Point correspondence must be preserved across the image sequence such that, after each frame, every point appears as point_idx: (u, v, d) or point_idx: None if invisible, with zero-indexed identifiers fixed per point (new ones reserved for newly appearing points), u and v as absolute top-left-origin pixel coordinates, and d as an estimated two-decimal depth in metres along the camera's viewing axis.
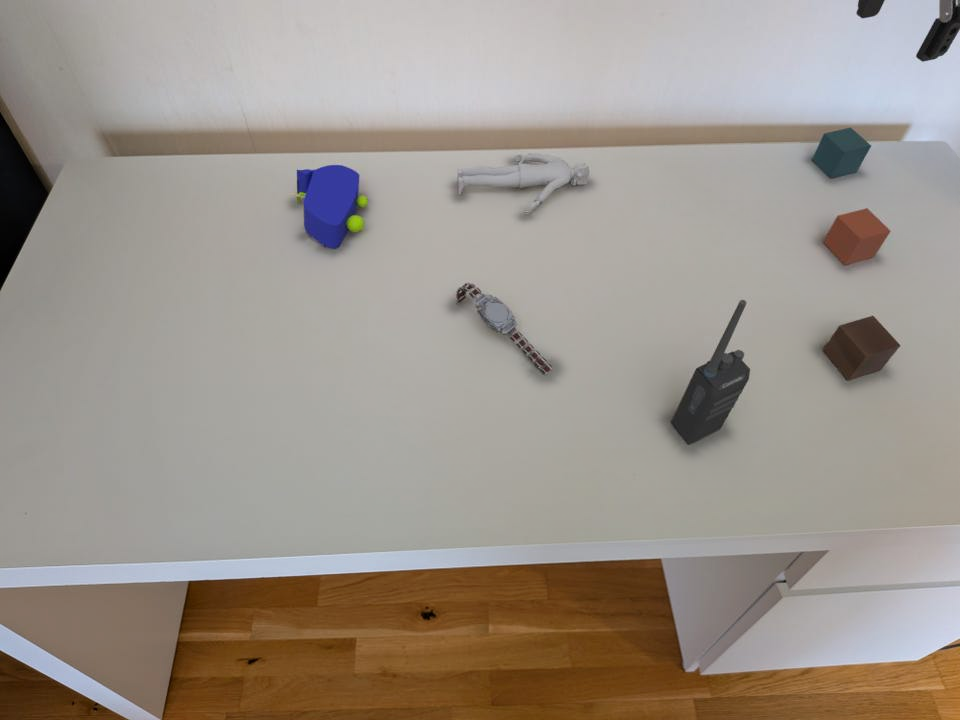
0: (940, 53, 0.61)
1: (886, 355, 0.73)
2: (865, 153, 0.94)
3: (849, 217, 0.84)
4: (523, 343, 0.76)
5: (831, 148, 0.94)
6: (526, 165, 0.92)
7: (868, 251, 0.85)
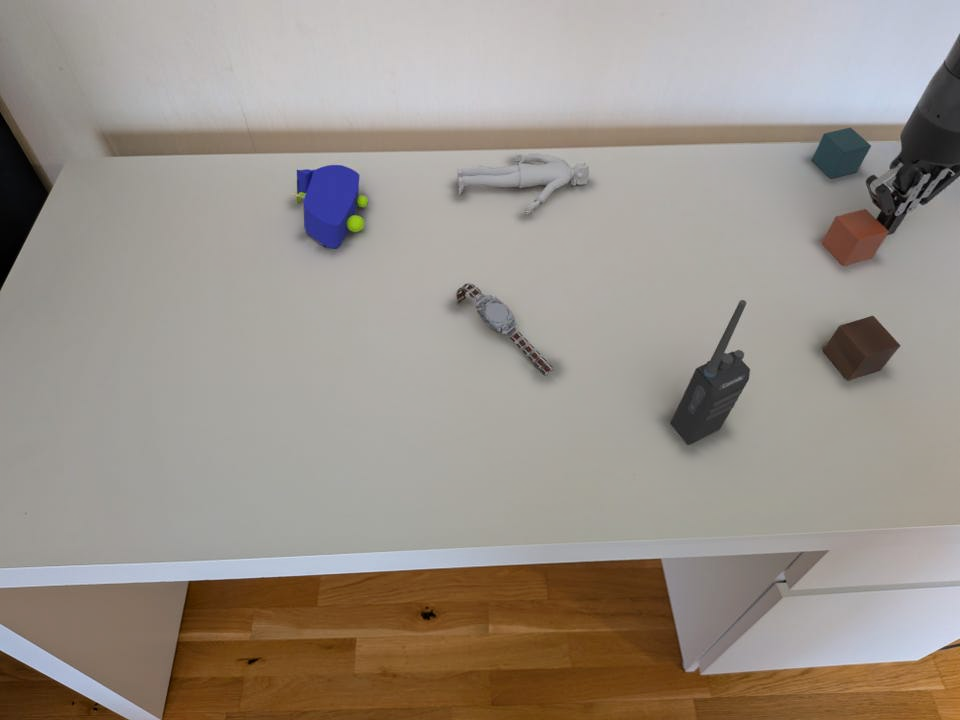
0: None
1: (886, 355, 0.73)
2: (865, 153, 0.94)
3: (848, 218, 0.84)
4: (524, 343, 0.76)
5: (831, 148, 0.94)
6: (526, 165, 0.92)
7: (866, 252, 0.85)
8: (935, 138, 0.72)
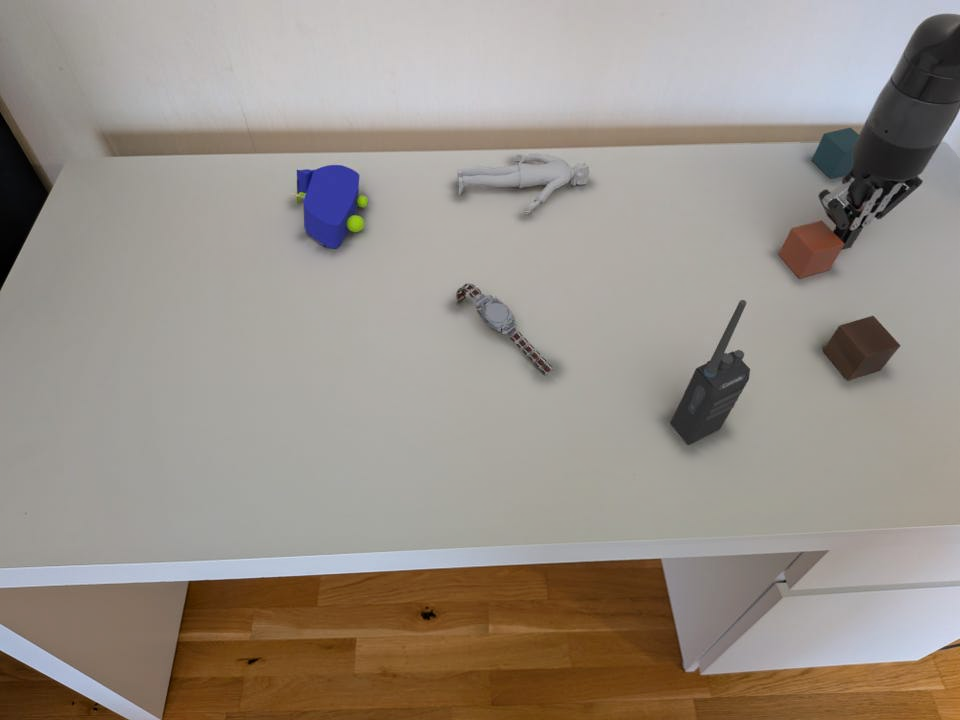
0: None
1: (886, 355, 0.73)
2: None
3: (803, 229, 0.83)
4: (524, 343, 0.76)
5: (831, 148, 0.94)
6: (526, 165, 0.92)
7: (822, 264, 0.83)
8: (884, 153, 0.71)
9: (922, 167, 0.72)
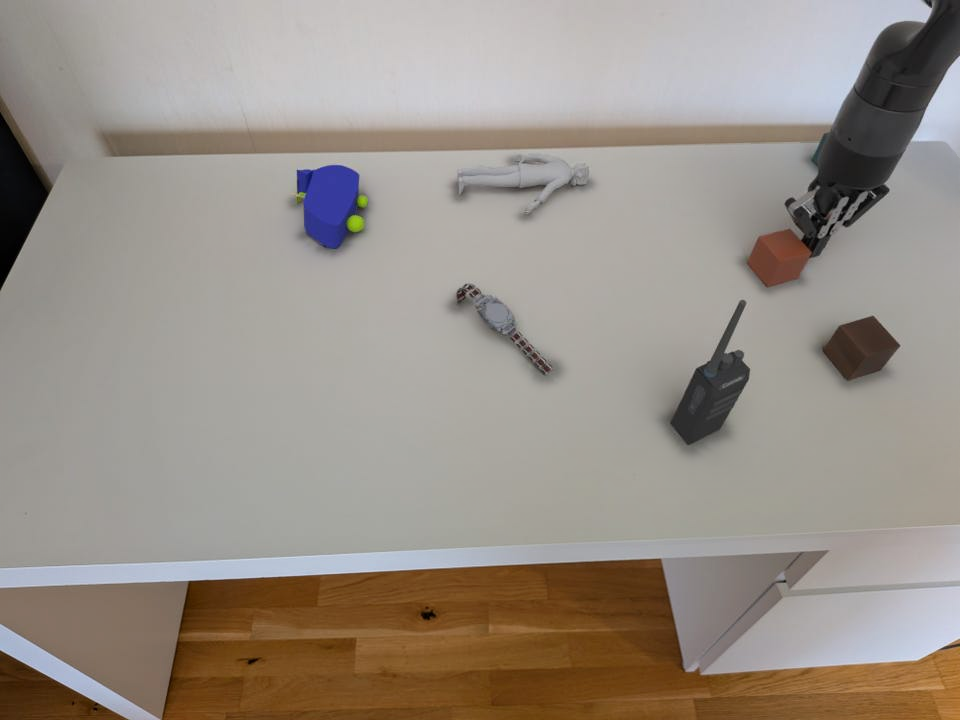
0: None
1: (886, 355, 0.73)
2: None
3: (770, 238, 0.82)
4: (524, 343, 0.76)
5: None
6: (526, 165, 0.92)
7: (790, 273, 0.82)
8: (848, 162, 0.70)
9: (887, 176, 0.71)
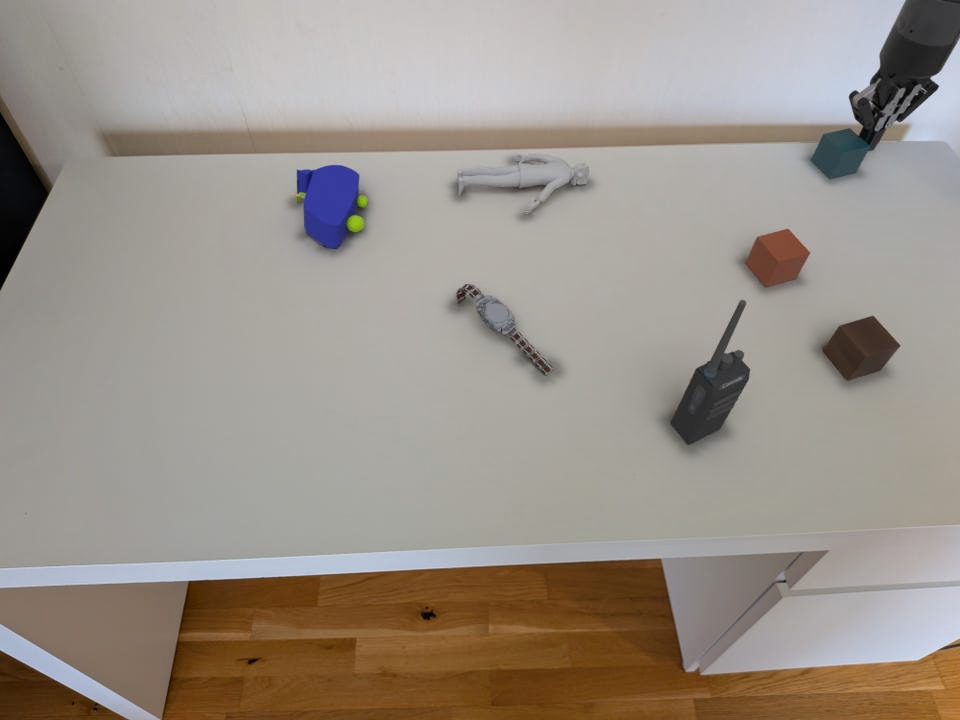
0: None
1: (886, 355, 0.73)
2: (864, 154, 0.94)
3: (769, 238, 0.82)
4: (524, 343, 0.76)
5: (830, 148, 0.94)
6: (526, 165, 0.92)
7: (788, 273, 0.82)
8: (908, 52, 0.82)
9: (940, 65, 0.83)
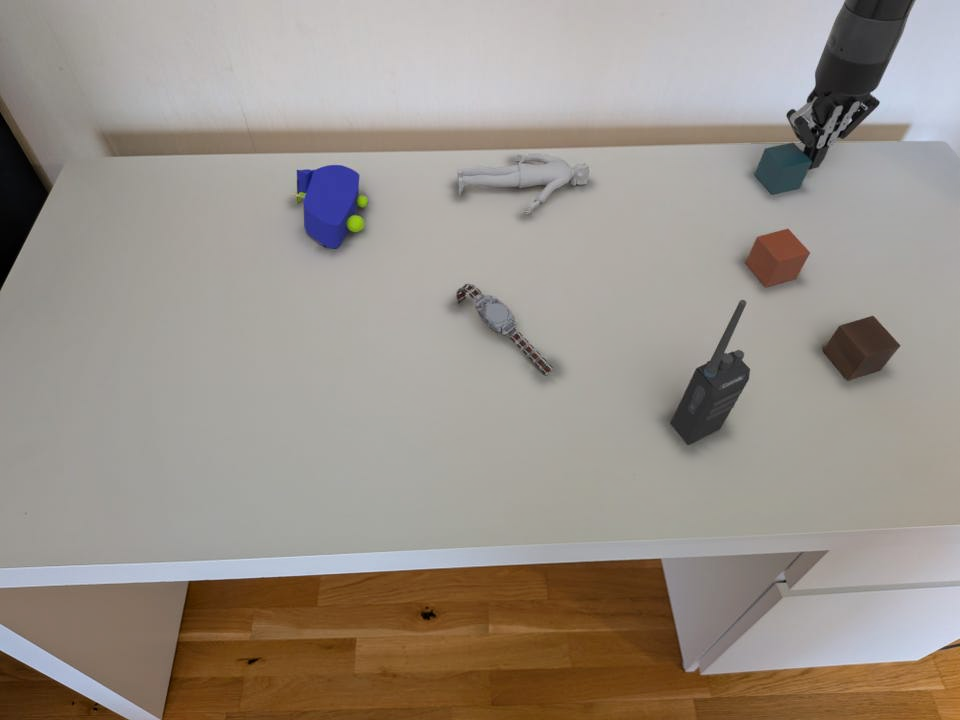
0: None
1: (886, 355, 0.73)
2: (806, 169, 0.92)
3: (769, 238, 0.82)
4: (524, 343, 0.76)
5: (772, 163, 0.92)
6: (526, 165, 0.92)
7: (788, 273, 0.82)
8: (841, 70, 0.81)
9: (875, 83, 0.81)
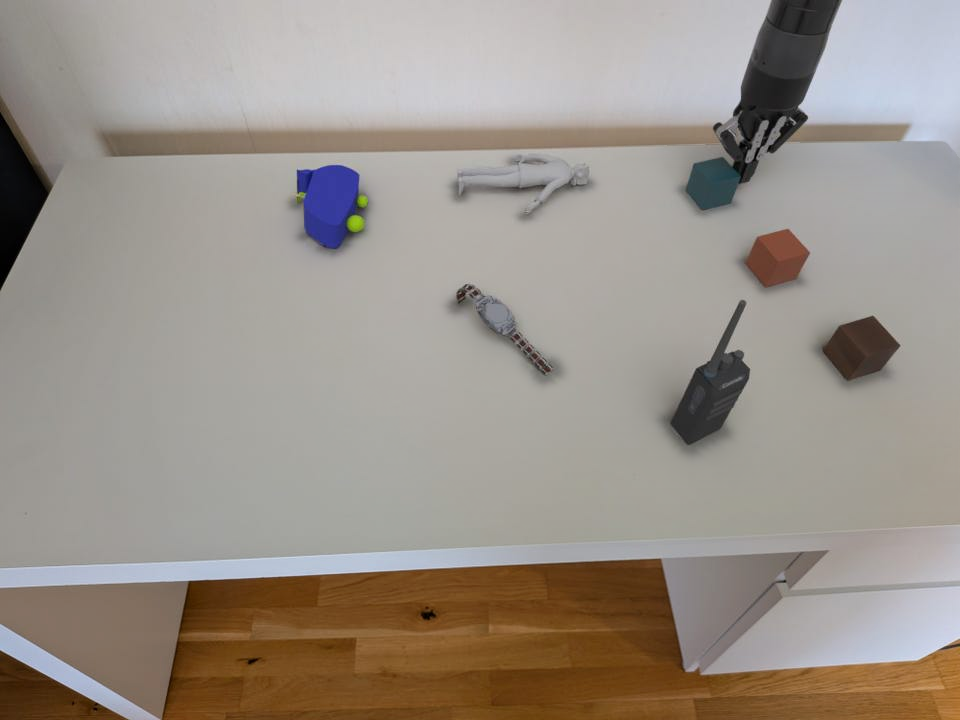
0: None
1: (886, 355, 0.73)
2: (736, 184, 0.90)
3: (769, 238, 0.82)
4: (524, 343, 0.76)
5: (701, 178, 0.90)
6: (526, 165, 0.92)
7: (788, 273, 0.82)
8: (764, 84, 0.79)
9: (799, 98, 0.79)
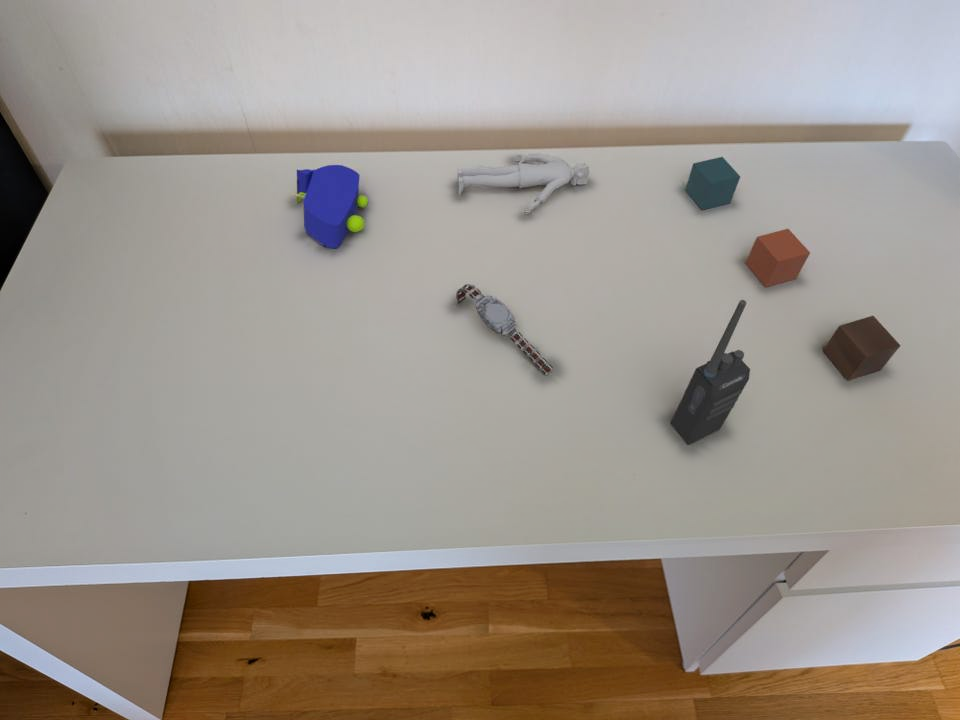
0: None
1: (886, 355, 0.73)
2: (735, 184, 0.90)
3: (769, 238, 0.82)
4: (524, 343, 0.76)
5: (700, 178, 0.90)
6: (526, 165, 0.92)
7: (788, 273, 0.82)
8: None
9: None
